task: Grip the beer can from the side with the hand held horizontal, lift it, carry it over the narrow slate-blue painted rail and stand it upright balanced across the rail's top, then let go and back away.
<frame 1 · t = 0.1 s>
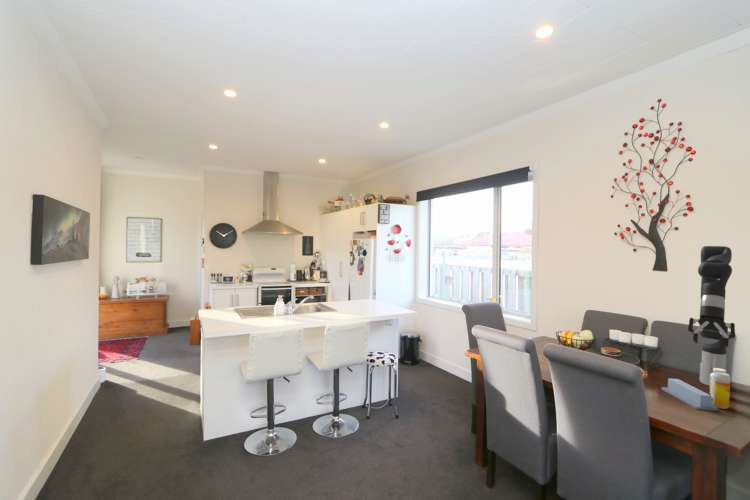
hand: (710, 345, 148), 31 cm above the table, tool tilted 20°, fingers open, 8 cm apart
supplement bottle: (718, 395, 174), on the table
rail: (688, 399, 169), on the table
beer can: (719, 406, 162), on the table
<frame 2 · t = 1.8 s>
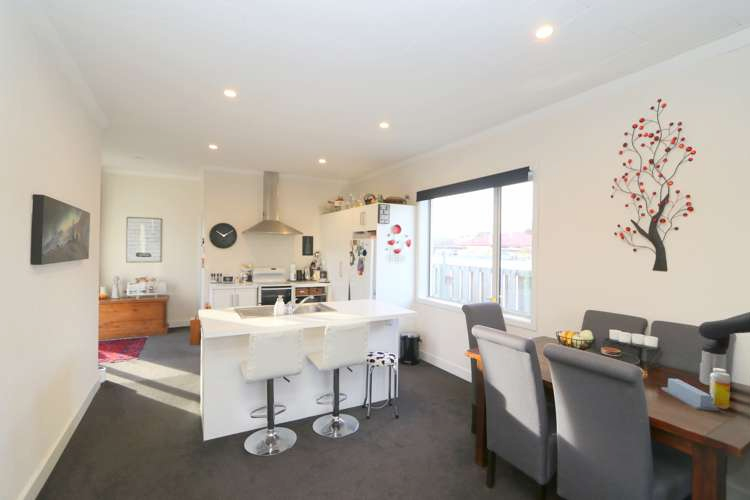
nothing on the table moved.
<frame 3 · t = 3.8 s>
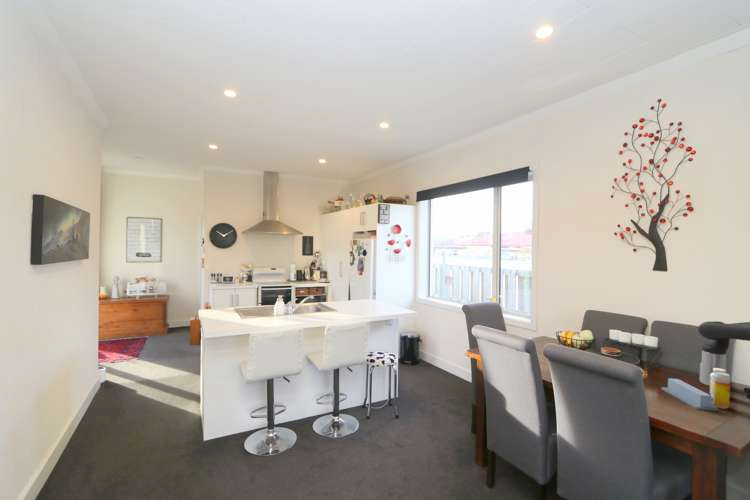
hand: (745, 392, 157), 8 cm above the table, tool horizontal, fingers open, 8 cm apart
nothing on the table moved.
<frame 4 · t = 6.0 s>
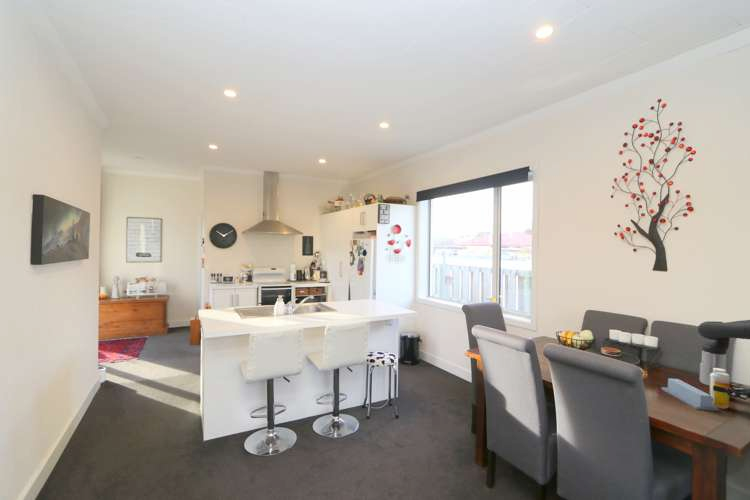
hand: (712, 385, 164), 9 cm above the table, tool horizontal, fingers closed on beer can, 5 cm apart
beer can: (719, 406, 162), on the table, touching gripper
everything else where it was.
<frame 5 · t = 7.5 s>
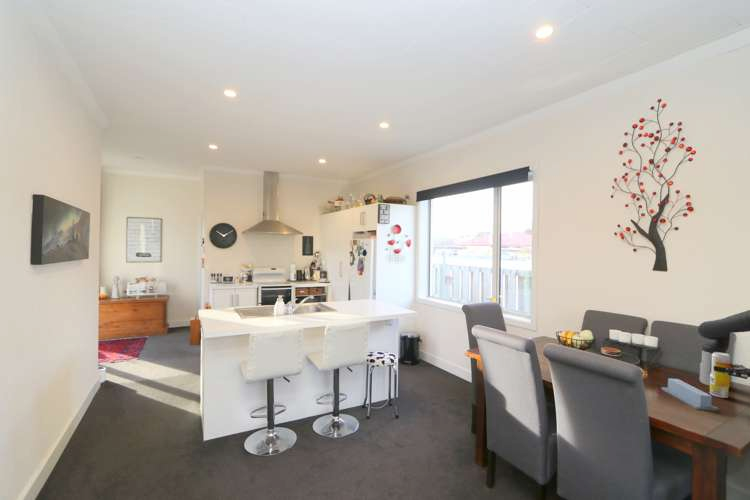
hand: (713, 366, 164), 17 cm above the table, tool horizontal, fingers closed on beer can, 5 cm apart
beer can: (720, 387, 162), point 9 cm above the table, touching gripper
everything else where it was.
when the fingers open (15 cm above the table, at t = 9.2 s): beer can stays where it is, resting on rail.
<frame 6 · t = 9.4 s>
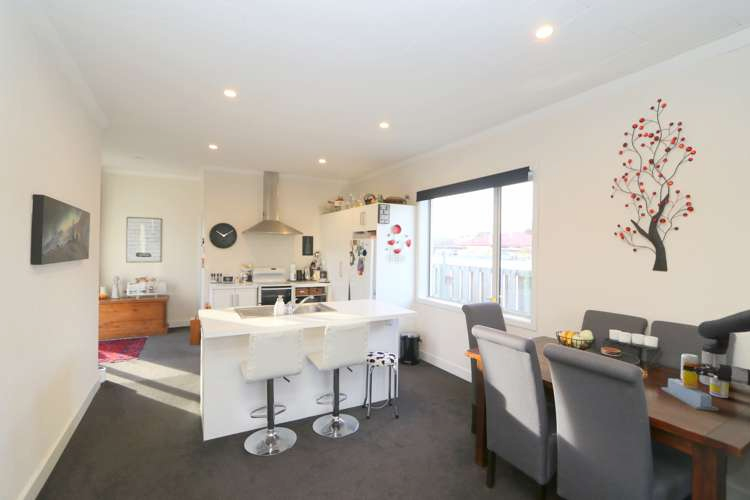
hand: (683, 365, 170), 15 cm above the table, tool horizontal, fingers open, 6 cm apart
beer can: (688, 387, 169), point 6 cm above the table, touching rail
everything else where it was.
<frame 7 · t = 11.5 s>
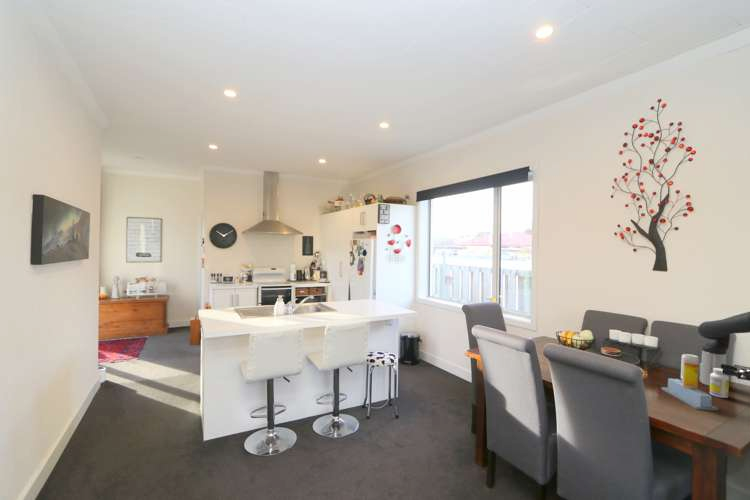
hand: (721, 368, 162), 17 cm above the table, tool horizontal, fingers open, 8 cm apart
nothing on the table moved.
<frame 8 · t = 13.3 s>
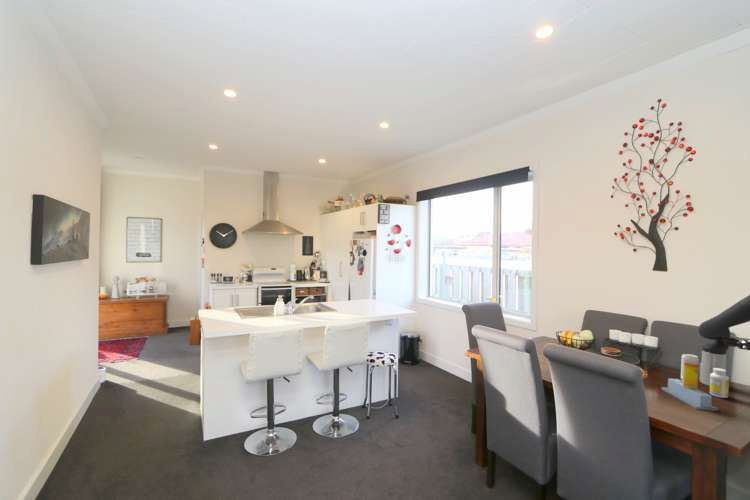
hand: (723, 340, 161), 30 cm above the table, tool horizontal, fingers open, 8 cm apart
nothing on the table moved.
at the end: beer can inside the target area on the rail (0.4 cm from its centre), point 5.8 cm above the rail's base; beer can tilted 0°; the gripper is holding nothing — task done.
